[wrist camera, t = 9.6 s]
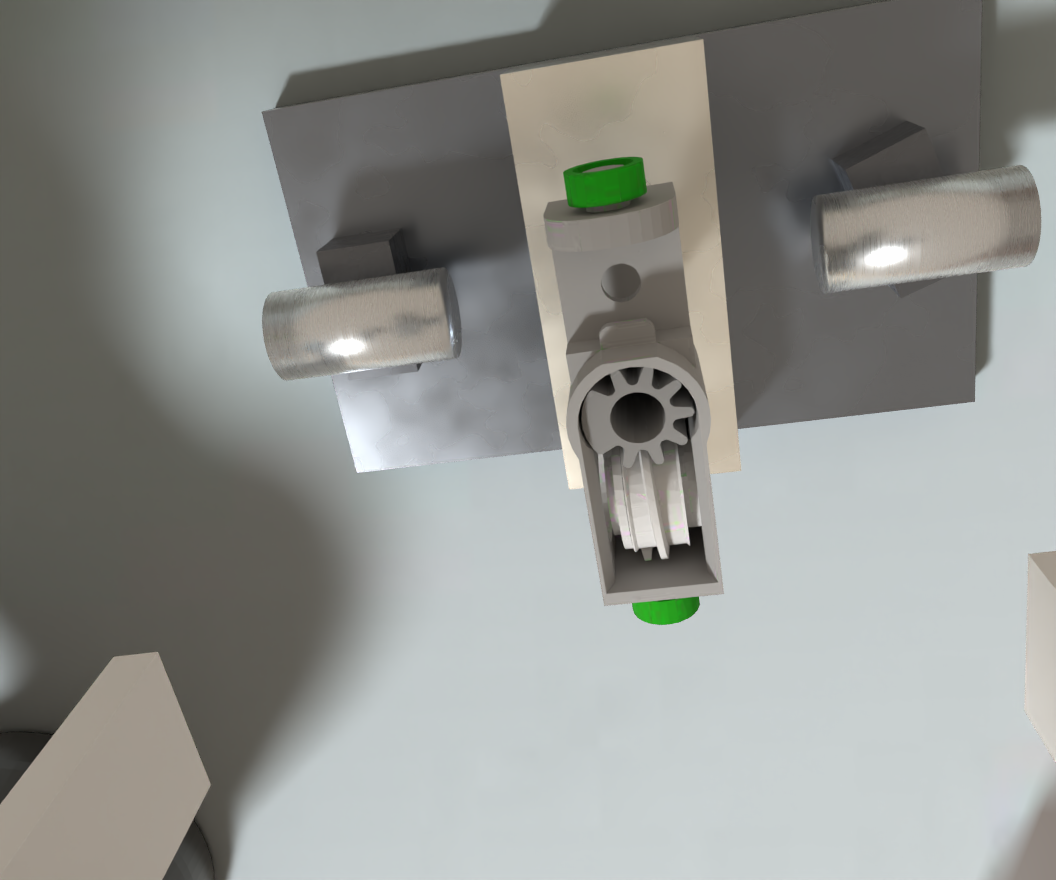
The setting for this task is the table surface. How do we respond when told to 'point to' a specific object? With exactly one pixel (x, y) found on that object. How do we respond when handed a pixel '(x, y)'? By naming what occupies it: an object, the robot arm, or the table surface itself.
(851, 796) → the table surface
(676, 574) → the mechanical component
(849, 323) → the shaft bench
